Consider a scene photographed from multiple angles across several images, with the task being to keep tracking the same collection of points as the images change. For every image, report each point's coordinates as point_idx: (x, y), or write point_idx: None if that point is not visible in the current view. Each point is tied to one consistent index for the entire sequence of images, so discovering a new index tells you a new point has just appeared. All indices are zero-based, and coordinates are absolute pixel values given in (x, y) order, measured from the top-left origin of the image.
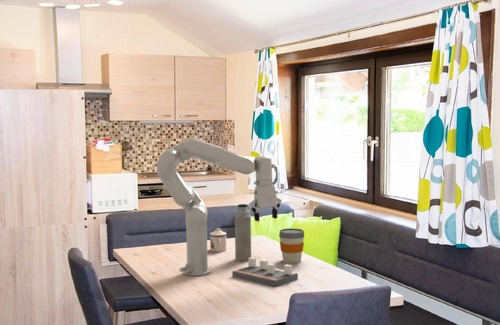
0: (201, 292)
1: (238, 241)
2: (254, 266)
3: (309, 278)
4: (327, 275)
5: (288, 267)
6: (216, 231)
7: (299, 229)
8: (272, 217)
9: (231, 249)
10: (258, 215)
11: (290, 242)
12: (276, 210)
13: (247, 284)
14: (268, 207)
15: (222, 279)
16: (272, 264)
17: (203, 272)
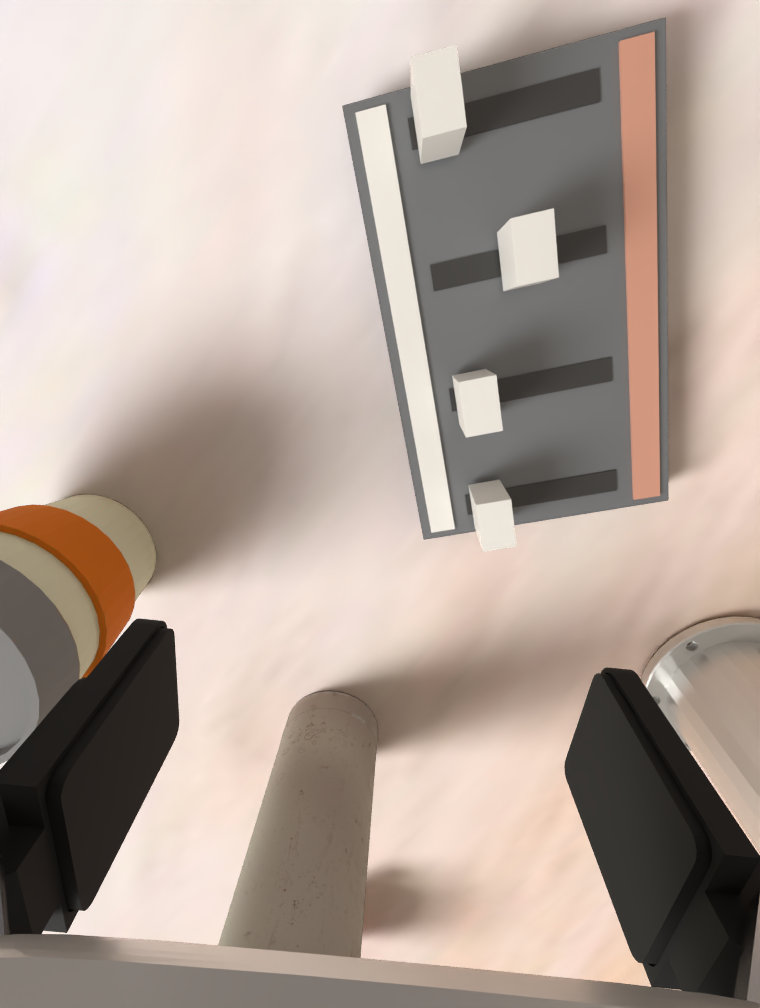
0: None
1: (365, 829)
2: (487, 481)
3: (265, 66)
4: (90, 37)
5: (457, 63)
6: None
7: None
8: (177, 730)
9: None
10: (695, 781)
11: (48, 567)
12: (20, 775)
13: (730, 263)
14: (389, 967)
15: (741, 479)
16: (526, 233)
17: (750, 632)
